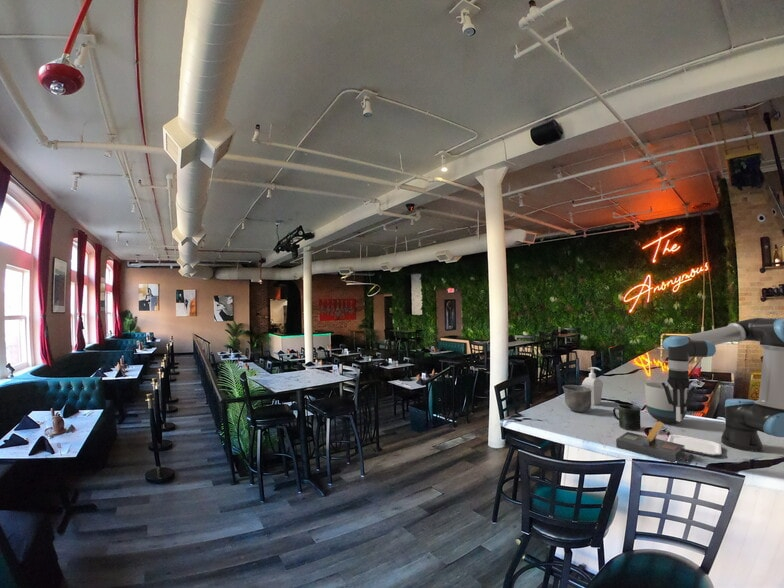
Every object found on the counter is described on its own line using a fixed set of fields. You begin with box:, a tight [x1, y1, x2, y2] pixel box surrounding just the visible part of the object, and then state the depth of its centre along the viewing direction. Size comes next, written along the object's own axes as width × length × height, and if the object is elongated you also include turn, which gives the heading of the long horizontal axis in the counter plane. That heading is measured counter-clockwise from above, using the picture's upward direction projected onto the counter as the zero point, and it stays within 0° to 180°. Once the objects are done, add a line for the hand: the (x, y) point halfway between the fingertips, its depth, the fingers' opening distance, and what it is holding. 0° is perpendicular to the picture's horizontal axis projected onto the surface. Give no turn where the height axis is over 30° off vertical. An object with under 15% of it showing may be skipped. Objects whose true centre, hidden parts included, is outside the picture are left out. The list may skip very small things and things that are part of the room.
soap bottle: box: [581, 366, 604, 406], centre depth 261 cm, size 12×10×26 cm
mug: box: [612, 404, 642, 432], centre depth 212 cm, size 11×15×12 cm
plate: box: [666, 434, 723, 457], centre depth 183 cm, size 21×21×2 cm
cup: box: [562, 384, 592, 413], centre depth 245 cm, size 18×18×15 cm
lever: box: [646, 420, 665, 442], centre depth 178 cm, size 2×8×11 cm, turn 130°
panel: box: [615, 431, 686, 463], centre depth 179 cm, size 24×16×7 cm, turn 40°
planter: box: [644, 381, 688, 424], centre depth 222 cm, size 20×20×21 cm
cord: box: [685, 453, 694, 463], centre depth 169 cm, size 1×10×1 cm, turn 131°
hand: (678, 420), depth 170 cm, fingers closed
